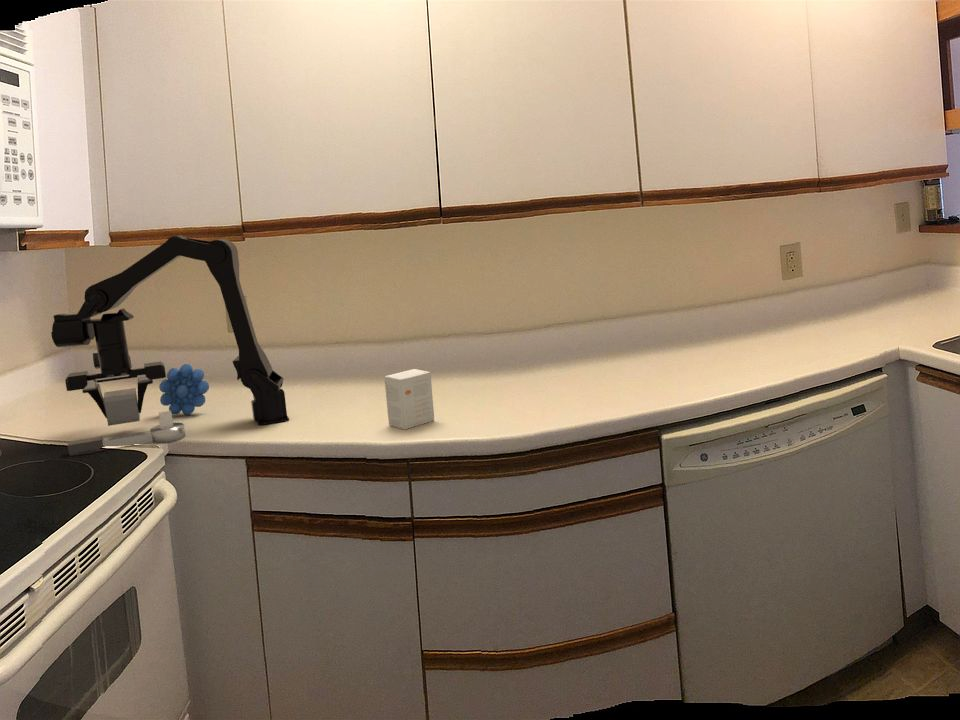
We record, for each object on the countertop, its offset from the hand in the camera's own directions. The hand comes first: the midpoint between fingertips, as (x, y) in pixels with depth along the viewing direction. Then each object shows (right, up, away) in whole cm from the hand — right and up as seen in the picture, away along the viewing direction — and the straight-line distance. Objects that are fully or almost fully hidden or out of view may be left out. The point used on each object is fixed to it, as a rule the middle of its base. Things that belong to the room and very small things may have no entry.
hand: (123, 415), depth 156 cm
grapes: (+8, -1, +15) cm, 17 cm away
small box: (+62, -2, -4) cm, 62 cm away
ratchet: (+5, -5, -7) cm, 10 cm away
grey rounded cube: (0, -1, 0) cm, 1 cm away
